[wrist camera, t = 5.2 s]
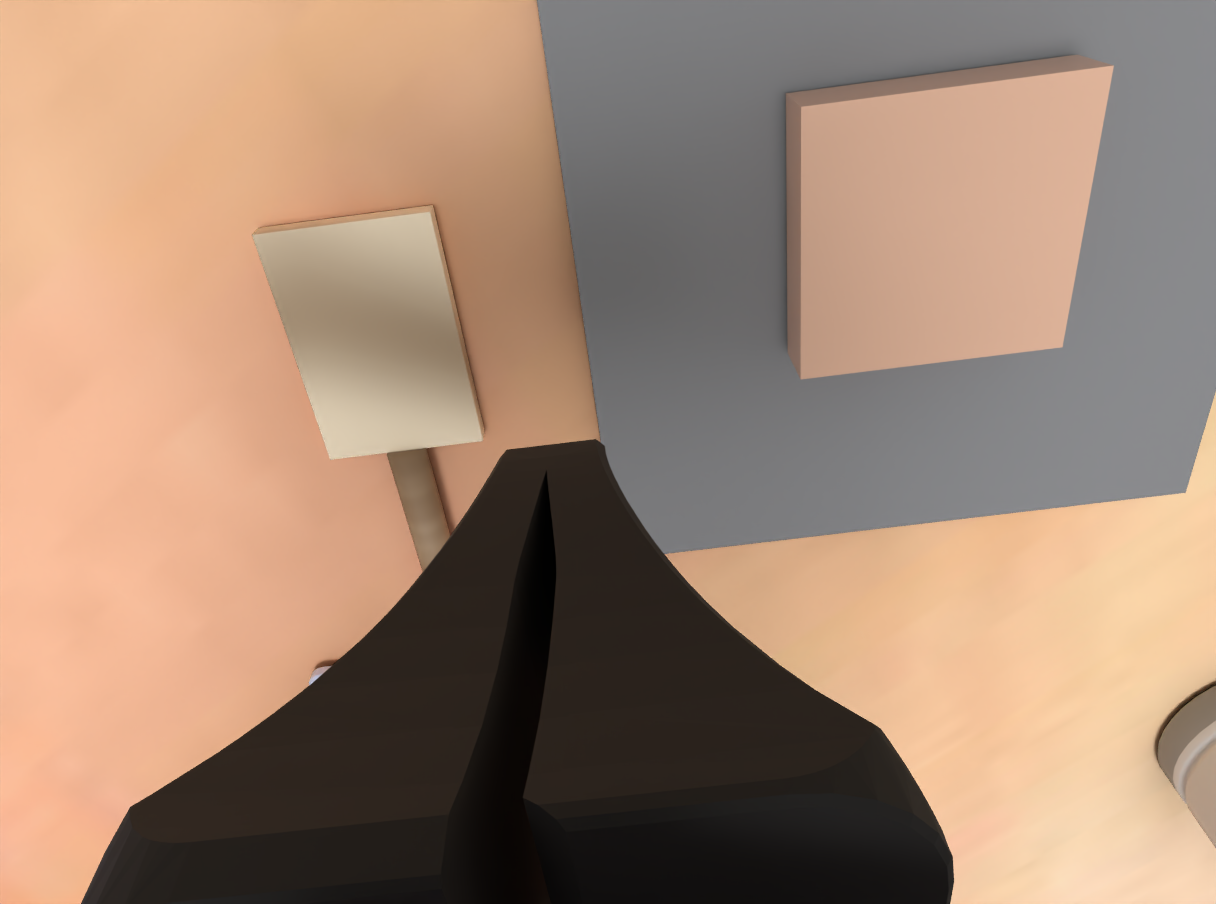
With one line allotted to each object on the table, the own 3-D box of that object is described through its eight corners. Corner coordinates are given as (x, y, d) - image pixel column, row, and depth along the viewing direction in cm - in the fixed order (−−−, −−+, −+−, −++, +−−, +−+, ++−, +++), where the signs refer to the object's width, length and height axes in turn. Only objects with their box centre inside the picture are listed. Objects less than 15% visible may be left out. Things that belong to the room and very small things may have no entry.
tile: (786, 349, 21) (1031, 319, 21) (800, 379, 20) (1062, 347, 20) (783, 91, 18) (1072, 53, 18) (801, 106, 17) (1113, 65, 17)
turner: (528, 625, 26) (527, 648, 26) (399, 639, 27) (394, 664, 26) (432, 205, 20) (427, 219, 19) (258, 227, 20) (244, 242, 19)
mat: (1176, 484, 25) (1185, 492, 24) (616, 550, 25) (618, 559, 25) (1423, -368, 15) (1443, -375, 15) (503, -235, 15) (502, -238, 15)
